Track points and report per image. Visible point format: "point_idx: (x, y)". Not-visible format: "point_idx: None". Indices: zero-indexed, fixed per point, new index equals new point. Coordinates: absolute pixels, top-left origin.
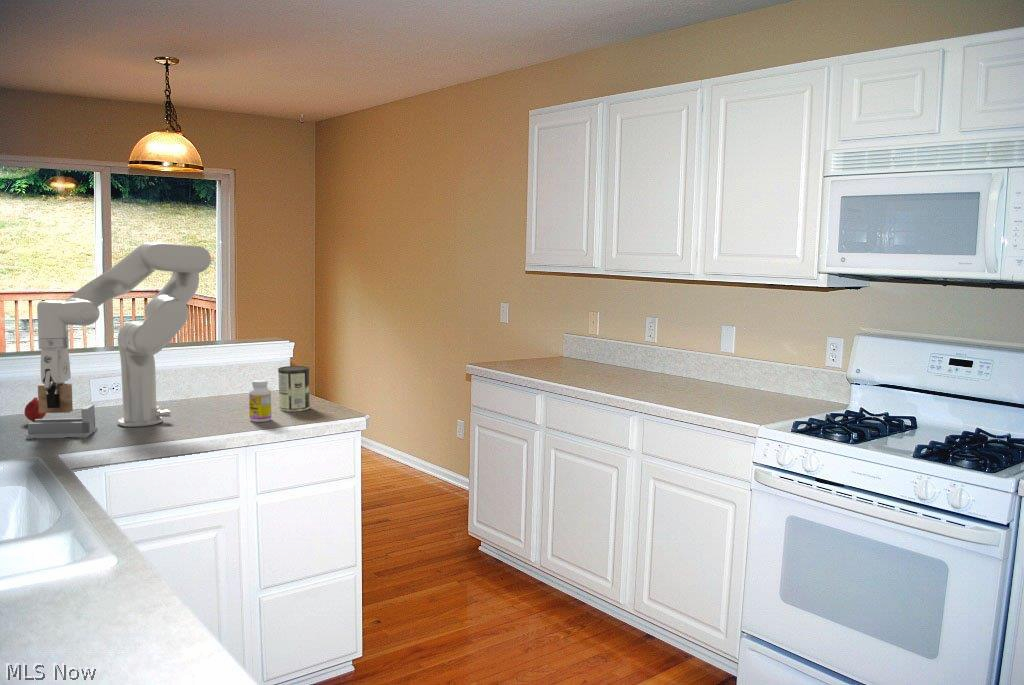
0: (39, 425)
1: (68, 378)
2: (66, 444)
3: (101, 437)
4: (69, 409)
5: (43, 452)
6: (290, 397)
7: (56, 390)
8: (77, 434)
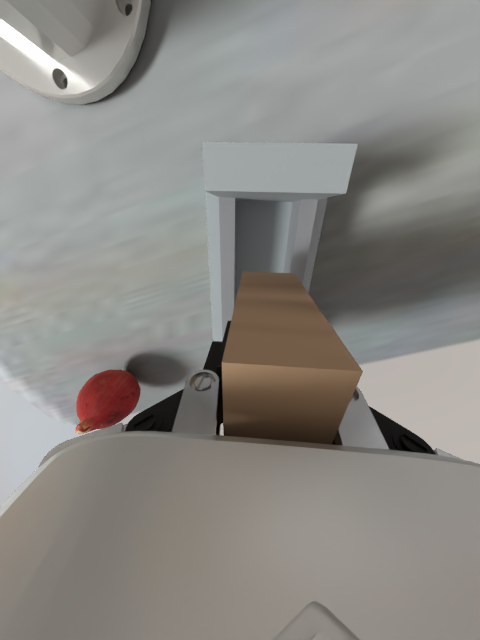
0: None
1: (166, 455)
2: (417, 223)
3: (350, 100)
4: (289, 277)
5: None
6: None
7: (368, 408)
8: (323, 216)
